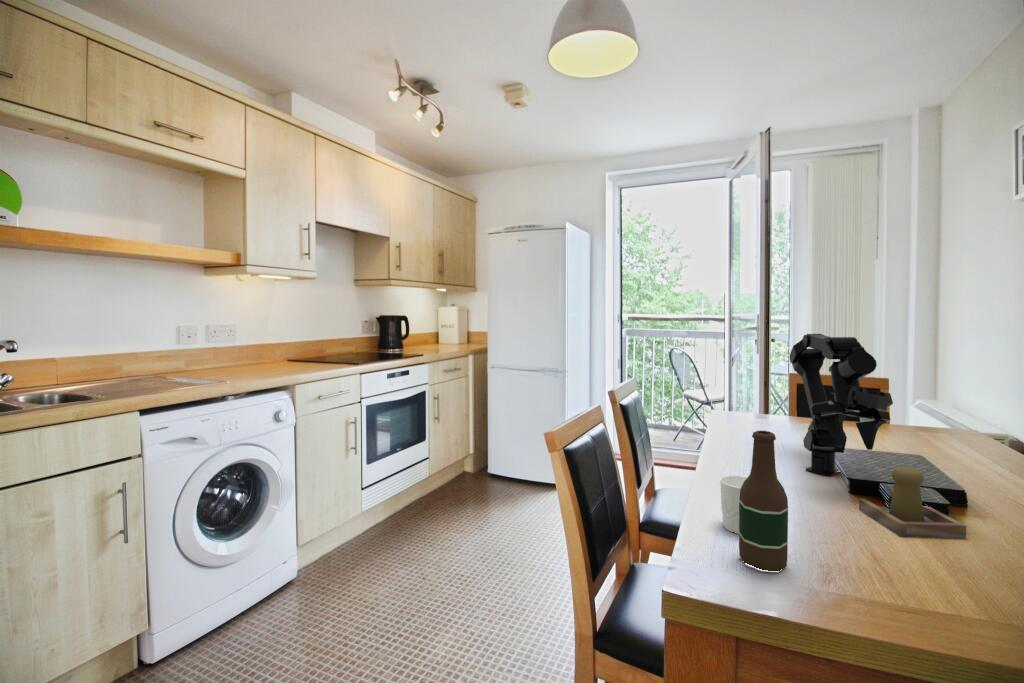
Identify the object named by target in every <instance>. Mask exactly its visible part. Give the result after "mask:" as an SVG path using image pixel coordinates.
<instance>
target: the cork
mask: <svg viewBox="0 0 1024 683" xmlns="http://www.w3.org/2000/svg"><path fill="white" fill-rule="evenodd" d="M891 477H892V479H893V481H894V483H893V484H894V485H893V489H892V490H893V491H892V494H891V495H892V496H891V500H890V505H889V508H890V509H889V514H891V515H893V516H894V517H896V518H898V519H899V520H901V521H903V522H925V519H924V512H923V505H922V503H923V498H922V492H921V486H922V484H923V483H924V478H925V477H924V474H923V473H922V471H920V470H919V469H916V468H913V467H908V466H897V467H894V468H893V469H892V472H891Z"/></svg>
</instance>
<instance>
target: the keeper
mask: <svg viewBox="0 0 1024 683" xmlns="http://www.w3.org/2000/svg"><path fill="white" fill-rule="evenodd" d="M858 501H859V504H858V510H859V511H861V512H862V513H863V514H865V515H866V516H868V517H869V518H871V519H873V520H874V521H875V522H877V523H878V524H880V525H881V526H883V527H884V528H886V529H887V530H889V531H890V532H892V533H893V534H895V535H897V536H898V537H901V538H931V539H933V538H935V539H936V538H937V539H963V540H964V539H965V540H966V539H967V525H965V524H964V523H962V522H960V521H958V520H956V519H954V518H952V517H950V516H948V515H946V514H945V513H944V512H941V511H939V510H937V509H934V508H933V507H931V506H929V505H927V506H923V512H924V519H925V522H903V521H901V520H899V519H898V518H896V517H894V516H893V515H891V514H889V508H890V507H880V506H878V505H877V504H875V503H873V502H871V501H870V500H868V499H866V498H858ZM928 506H929V507H928Z"/></svg>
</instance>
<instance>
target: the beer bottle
mask: <svg viewBox="0 0 1024 683" xmlns="http://www.w3.org/2000/svg"><path fill="white" fill-rule="evenodd" d="M751 437H752V438H753V443H752V446H753V447H752V458H751V460H752V461H751V469H750V473H749V475H748V476H746V477H747V479H746V480H745V481H744V482H743V485H742V487H741V489H740V498H739V534H738V549H739V550H738V551H739V552H738V553H739V557H740V559H741V558H742V559H741V561H742V560H743V561H744V562H743V561H742V562H743V564H744V563H747V564H749V565H752V566H754V567H756V568H759V569H762V570H768V571H780V570H781V569H783V568H785V567H787V565H788V551H789V550H788V546H789V544H788V543H789V542H788V539H789V538H788V537H789V527H788V526H789V504H788V503H789V502H788V500H789V499H788V496H787V493H786V489H785V488H784V486H783V485H782V483H781V482H780V480H779V479H778V476H777V470H776V455H775V454H776V453H775V441H776V440H777V439H776V438H777V437H776V434H775V433H773V432H771V431H767V430H756V431H753V432H752V435H751ZM785 569H786V568H785ZM783 570H784V569H783ZM780 572H781V571H780Z"/></svg>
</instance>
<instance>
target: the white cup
mask: <svg viewBox="0 0 1024 683" xmlns="http://www.w3.org/2000/svg"><path fill="white" fill-rule="evenodd" d="M747 477H748V476H743V475H726V476H721V477H720V479H719V480H720V481H719V482H720V500H721V501H720V503H721V512H722V526H723V527H724V529H725V530H727V531H729V532H730V533H733V532H734V534H736V533H737V535H739V498H740V489H741V487H742V485H743V482H744V481H745V480H746V479H747Z"/></svg>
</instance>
